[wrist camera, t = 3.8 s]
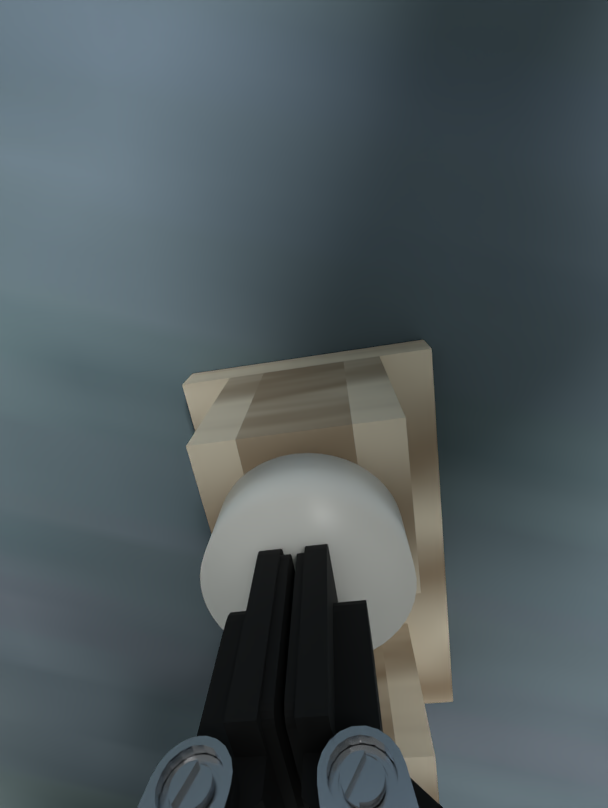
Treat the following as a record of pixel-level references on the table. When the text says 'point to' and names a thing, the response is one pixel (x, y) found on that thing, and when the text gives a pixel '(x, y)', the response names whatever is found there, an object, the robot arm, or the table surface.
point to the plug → (313, 536)
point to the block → (372, 450)
